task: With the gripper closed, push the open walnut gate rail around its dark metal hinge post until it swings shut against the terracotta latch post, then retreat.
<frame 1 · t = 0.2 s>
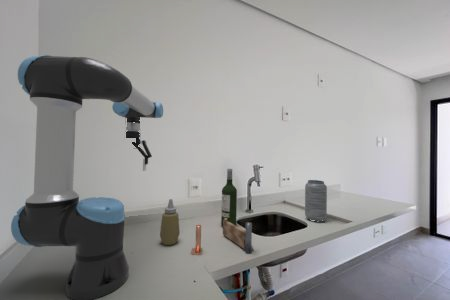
hand: (131, 170, 105), 28 cm above the counter, fingers open, 13 cm apart
vase: (315, 220, 115), on the counter
squeeze bottle: (169, 243, 82), on the counter
wine bottle: (228, 226, 102), on the counter
gate posts: (248, 252, 75), on the counter
gate: (234, 231, 83), point 4 cm above the counter, hinge at -60.0°
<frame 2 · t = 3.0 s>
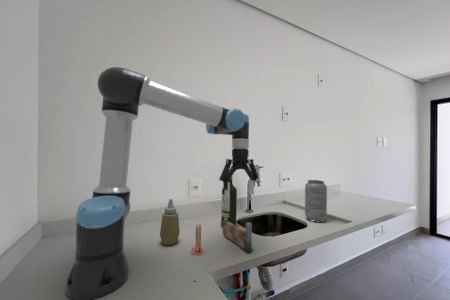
hand: (239, 195, 87), 19 cm above the counter, fingers open, 13 cm apart
nothing on the counter moved.
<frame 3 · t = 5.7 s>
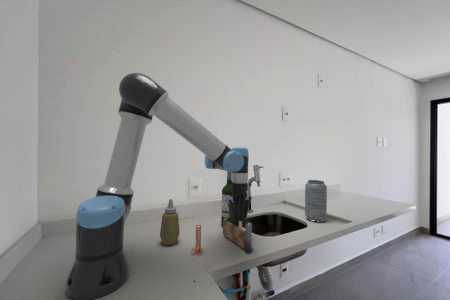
hand: (238, 235, 86), 2 cm above the counter, fingers closed
gate: (234, 231, 83), point 4 cm above the counter, hinge at -59.9°, touching gripper
everything else where it was.
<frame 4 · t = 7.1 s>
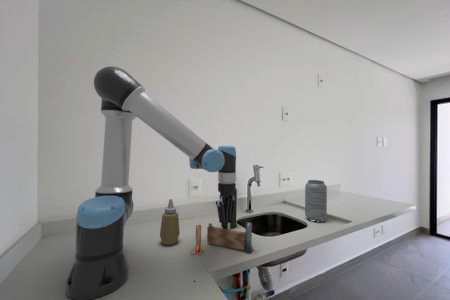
hand: (226, 238, 82), 2 cm above the counter, fingers closed
gate: (225, 235, 79), point 4 cm above the counter, hinge at -24.8°, touching gripper
everything else where it was.
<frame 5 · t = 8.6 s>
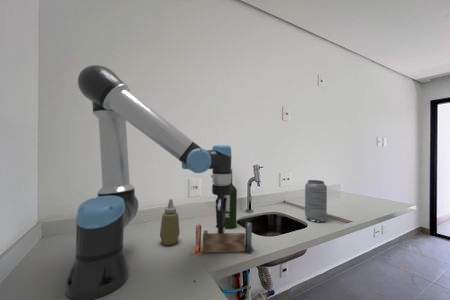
hand: (220, 243, 77), 2 cm above the counter, fingers closed
gate: (223, 240, 74), point 4 cm above the counter, hinge at 2.3°, touching gripper
everything else where it was.
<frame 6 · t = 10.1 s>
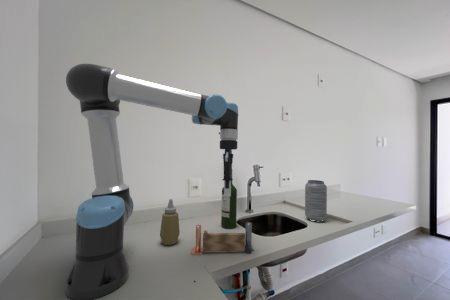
hand: (227, 195, 82), 20 cm above the counter, fingers closed
gate: (223, 240, 74), point 4 cm above the counter, hinge at 2.2°
everything else where it was.
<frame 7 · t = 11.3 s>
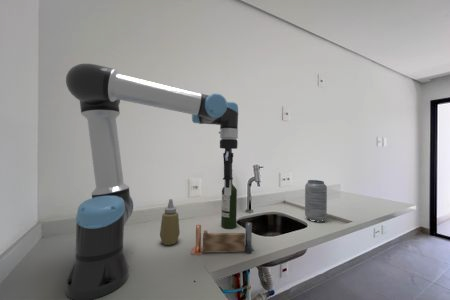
hand: (227, 194, 82), 20 cm above the counter, fingers closed
nothing on the counter moved.
at the end: gate at +2° (first picture: -60°); gate touching nothing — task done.
